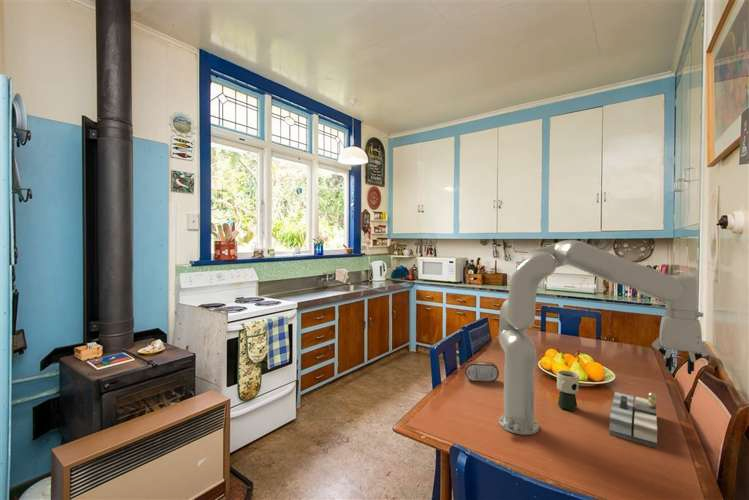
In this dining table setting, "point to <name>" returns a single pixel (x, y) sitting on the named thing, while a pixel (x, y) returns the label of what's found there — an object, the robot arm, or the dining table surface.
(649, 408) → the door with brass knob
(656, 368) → the dining table surface
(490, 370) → the tin
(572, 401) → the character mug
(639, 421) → the lock board
